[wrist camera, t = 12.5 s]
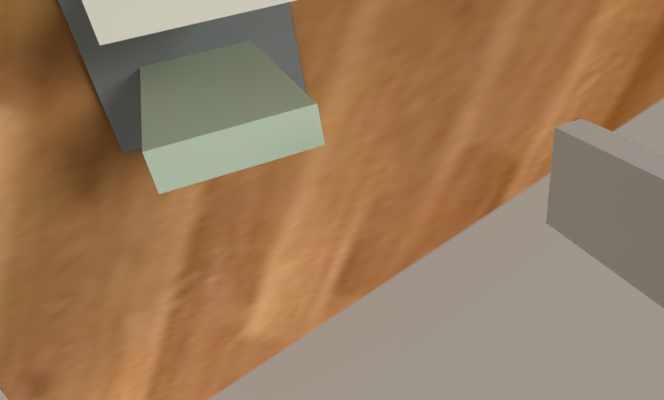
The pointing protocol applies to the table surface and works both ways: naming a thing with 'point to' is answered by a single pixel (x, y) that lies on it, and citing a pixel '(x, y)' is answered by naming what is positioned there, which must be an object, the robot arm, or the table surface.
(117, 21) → the domino
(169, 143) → the sage domino
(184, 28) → the mat
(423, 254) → the table surface
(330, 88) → the table surface
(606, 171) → the robot arm
